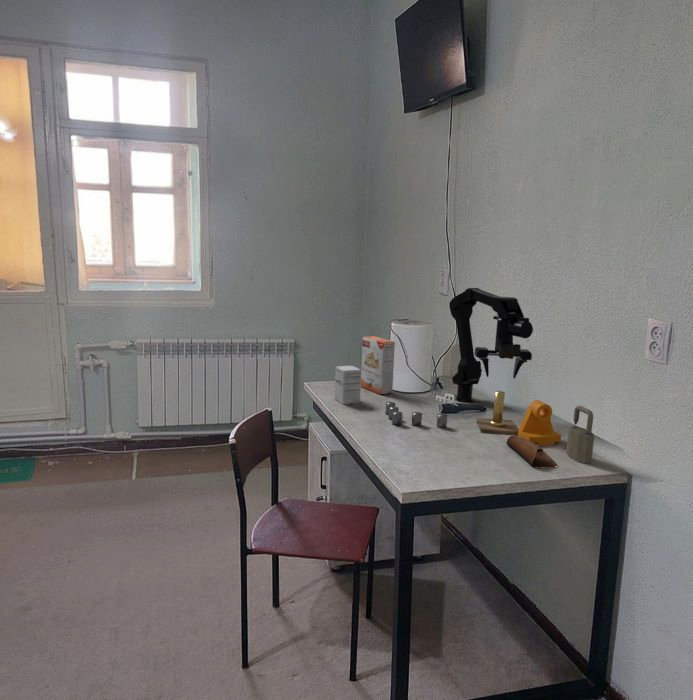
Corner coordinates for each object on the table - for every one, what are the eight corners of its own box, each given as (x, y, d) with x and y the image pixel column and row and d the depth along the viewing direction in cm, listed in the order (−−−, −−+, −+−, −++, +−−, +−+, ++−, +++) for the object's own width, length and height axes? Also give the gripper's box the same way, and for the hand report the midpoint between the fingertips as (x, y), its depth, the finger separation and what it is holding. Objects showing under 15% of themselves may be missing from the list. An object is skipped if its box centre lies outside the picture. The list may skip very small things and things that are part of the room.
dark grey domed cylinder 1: (385, 412, 205) (386, 401, 204) (394, 413, 205) (395, 402, 204) (385, 415, 202) (386, 404, 201) (394, 415, 202) (395, 404, 201)
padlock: (575, 452, 172) (581, 403, 170) (593, 463, 165) (599, 411, 162) (563, 453, 171) (569, 403, 169) (581, 464, 164) (587, 412, 161)
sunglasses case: (561, 467, 160) (552, 447, 159) (539, 480, 160) (529, 460, 159) (532, 444, 178) (523, 426, 176) (512, 456, 178) (503, 438, 176)
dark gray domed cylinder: (411, 423, 194) (412, 411, 194) (421, 423, 194) (421, 412, 193) (411, 426, 191) (412, 414, 190) (421, 426, 191) (422, 415, 190)
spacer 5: (436, 425, 193) (437, 413, 192) (446, 425, 193) (446, 414, 192) (436, 428, 190) (437, 416, 189) (446, 429, 190) (447, 417, 189)
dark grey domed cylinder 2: (388, 417, 200) (389, 406, 199) (397, 418, 199) (398, 406, 199) (388, 420, 197) (389, 408, 196) (398, 420, 196) (398, 409, 196)
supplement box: (333, 399, 219) (335, 366, 217) (351, 397, 222) (353, 365, 220) (342, 404, 213) (343, 370, 210) (360, 403, 216) (362, 369, 213)
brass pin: (486, 424, 193) (489, 391, 191) (495, 421, 196) (498, 389, 194) (498, 427, 190) (501, 394, 187) (507, 425, 193) (510, 392, 191)
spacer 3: (391, 422, 194) (392, 410, 193) (401, 423, 194) (402, 411, 193) (391, 425, 191) (392, 413, 190) (401, 426, 191) (402, 414, 190)
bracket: (529, 445, 177) (533, 407, 175) (517, 437, 184) (521, 400, 182) (561, 444, 180) (565, 406, 177) (548, 436, 187) (552, 399, 184)
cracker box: (359, 387, 238) (361, 336, 234) (371, 385, 242) (374, 335, 238) (380, 395, 227) (383, 342, 223) (392, 393, 230) (395, 341, 226)
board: (475, 420, 199) (476, 418, 199) (512, 423, 198) (512, 420, 198) (480, 432, 188) (481, 429, 187) (519, 434, 187) (519, 431, 186)
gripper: (480, 336, 197) (476, 381, 200) (537, 338, 195) (533, 384, 198) (476, 331, 208) (472, 374, 211) (530, 333, 206) (525, 377, 209)
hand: (500, 377), depth 207 cm, fingers open, 9 cm apart
